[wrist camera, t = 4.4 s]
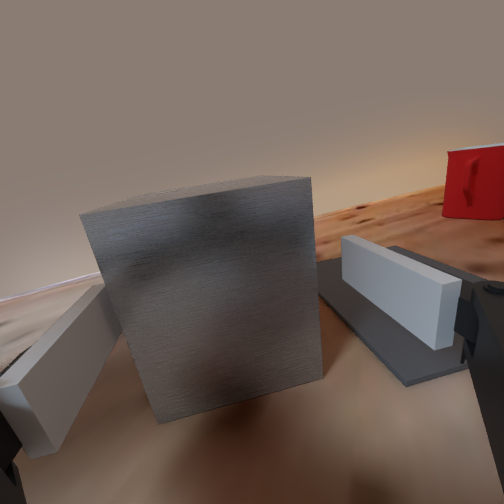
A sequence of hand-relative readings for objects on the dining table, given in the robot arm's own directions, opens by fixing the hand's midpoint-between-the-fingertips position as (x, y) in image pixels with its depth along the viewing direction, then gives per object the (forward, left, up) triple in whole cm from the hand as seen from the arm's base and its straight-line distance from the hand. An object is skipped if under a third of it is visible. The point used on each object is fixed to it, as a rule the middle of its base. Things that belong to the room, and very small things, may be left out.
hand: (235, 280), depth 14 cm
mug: (+41, +20, -7) cm, 47 cm away
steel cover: (-1, +3, -7) cm, 8 cm away
